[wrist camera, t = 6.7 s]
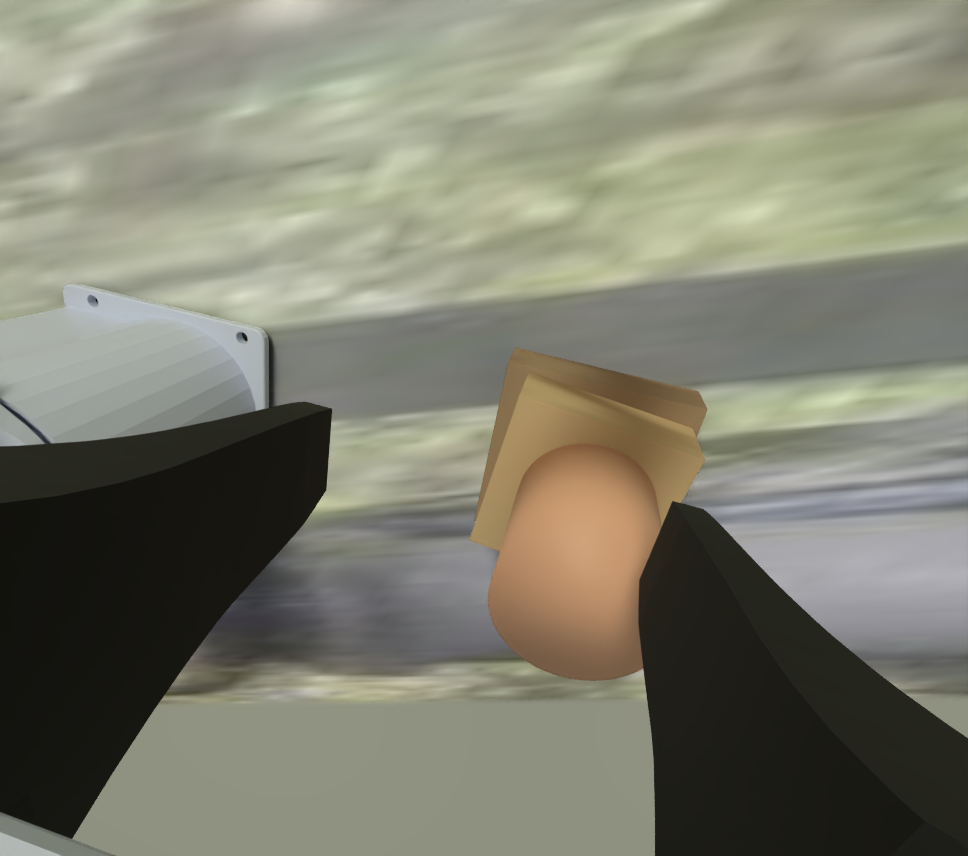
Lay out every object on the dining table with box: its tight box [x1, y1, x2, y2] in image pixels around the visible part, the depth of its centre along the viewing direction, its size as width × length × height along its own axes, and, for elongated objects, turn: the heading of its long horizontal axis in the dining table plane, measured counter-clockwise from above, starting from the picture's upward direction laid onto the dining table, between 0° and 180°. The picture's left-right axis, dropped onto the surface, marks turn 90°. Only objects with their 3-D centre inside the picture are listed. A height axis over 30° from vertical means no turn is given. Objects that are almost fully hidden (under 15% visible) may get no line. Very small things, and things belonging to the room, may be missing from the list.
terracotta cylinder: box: [488, 444, 662, 681], centre depth 15 cm, size 5×5×5 cm
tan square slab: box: [474, 348, 707, 521], centre depth 21 cm, size 7×7×2 cm
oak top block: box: [469, 372, 705, 551], centre depth 19 cm, size 6×6×2 cm
